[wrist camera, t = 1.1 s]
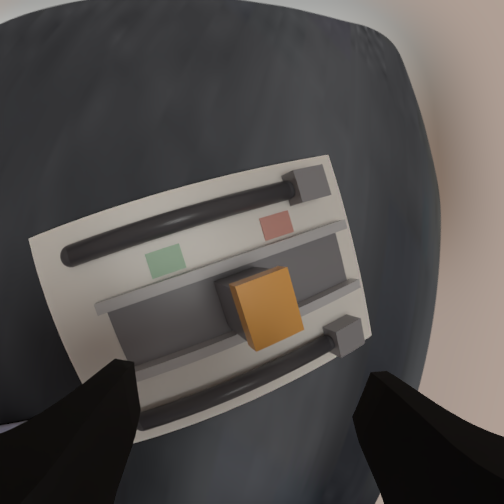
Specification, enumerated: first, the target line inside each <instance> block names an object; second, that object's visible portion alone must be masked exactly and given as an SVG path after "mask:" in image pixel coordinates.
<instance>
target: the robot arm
mask: <svg viewBox="0 0 504 504" xmlns="http://www.w3.org/2000/svg"><path fill="white" fill-rule="evenodd" d="M140 412H141V407H140V401H139V395H138V388H137V381H136V374H135V366H134V362H132V361H126V360H121V359H114V360H112V361H111V362H110V363H108V364H107V365H106V366H105V367H103V368H102V369H101V370H100V371H98V372H97V373H96V374H95V375H93V376H92V377H91V378H89V379H88V380H87V381H86V382H84V383H83V384H82V385H80V386H79V387H78V388H76V389H75V390H74V391H72V392H71V393H70V394H68V395H67V396H66V397H64V398H63V399H61V400H60V401H58V402H57V403H55V404H54V405H52V406H51V407H49V408H48V409H46V410H45V411H43V412H42V413H40V414H38V415H37V416H35V417H33V418H32V419H30V420H27V421H22V422H17V423H11V424H6V425H0V504H114V500H115V496H116V492H117V489H118V486H119V483H120V480H121V477H122V474H123V471H124V468H125V465H126V462H127V459H128V456H129V453H130V451H131V448H132V445H133V442H134V439H135V435H136V431H137V426H138V422H139V417H140ZM353 421H354V425H355V430H356V433H357V437H358V440H359V443H360V446H361V448H362V451H363V453H364V455H365V458H366V460H367V462H368V465H369V467H370V469H371V472H372V474H373V476H374V479H375V481H376V483H377V486H378V488H379V490H380V493H381V496H382V498H383V502H384V504H504V437H502V436H500V435H497V434H494V433H491V432H489V431H486V430H484V429H482V428H480V427H477V426H475V425H473V424H471V423H469V422H467V421H465V420H463V419H461V418H460V417H458V416H456V415H454V414H452V413H451V412H449V411H447V410H446V409H444V408H443V407H441V406H439V405H438V404H436V403H435V402H433V401H432V400H430V399H429V398H427V397H426V396H424V395H423V394H421V393H420V392H418V391H417V390H415V389H414V388H412V387H411V386H409V385H408V384H406V383H405V382H403V381H402V380H400V379H399V378H397V377H396V376H394V375H392V374H391V373H389V372H387V371H382V372H371V373H370V376H369V378H368V381H367V383H366V386H365V388H364V391H363V393H362V396H361V398H360V400H359V403H358V405H357V408H356V410H355V412H354V414H353Z"/></svg>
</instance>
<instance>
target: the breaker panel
mask: <svg viewBox="0 0 504 504" xmlns="http://www.w3.org/2000/svg"><path fill="white" fill-rule="evenodd" d="M29 243H30V247H31V251H32V255H33V259H34V263H35V266H36V270H37V273H38V276H39V280H40V283H41V286H42V289H43V292H44V295H45V298H46V301H47V304H48V307H49V310H50V312H51V315H52V318H53V320H54V323H55V325H56V328H57V330H58V333H59V335H60V338H61V340H62V342H63V345H64V347H65V349H66V351H67V354H68V356H69V358H70V360H71V362H72V364H73V366H74V368H75V371H76V373H77V375H78V377H79V379H80V380H81V382H82V384H83V383H84V382H86V381H87V380H88V379H89V378H91V377H92V376H93V375H95V374H96V373H97V372H98V371H100V370H101V369H102V368H103V367H105V366H106V365H107V364H108V363H110V362H111V361H112V360H114V359H121V360H126V361H132V362H134V366H135V374H136V381H137V388H138V395H139V401H140V407H141V412H140V417H139V422H138V426H137V431H136V435H135V439H134V442H133V443H137V442H140V441H144V440H147V439H150V438H154V437H157V436H160V435H163V434H166V433H169V432H172V431H175V430H178V429H181V428H184V427H187V426H189V425H192V424H195V423H198V422H200V421H203V420H206V419H208V418H211V417H213V416H216V415H218V414H221V413H223V412H226V411H228V410H231V409H233V408H235V407H238V406H240V405H242V404H245V403H247V402H249V401H251V400H253V399H256V398H258V397H260V396H262V395H264V394H266V393H269V392H271V391H273V390H275V389H277V388H279V387H281V386H283V385H285V384H287V383H289V382H291V381H293V380H295V379H297V378H299V377H301V376H303V375H305V374H306V373H308V372H310V371H312V370H314V369H316V368H318V367H319V366H321V365H323V364H325V363H327V362H328V361H330V360H332V359H334V358H335V357H337V356H338V357H340V358H342V357H344V356H345V355H347V354H349V353H350V352H352V351H354V350H355V349H357V348H358V347H360V346H362V345H363V344H365V339H367V338H368V337H370V336H371V329H370V323H369V317H368V311H367V306H366V300H365V295H364V290H363V285H362V280H361V276H360V271H359V266H358V262H357V257H356V253H355V249H354V245H353V240H352V236H351V232H350V228H349V224H348V221H347V217H346V213H345V209H344V206H343V202H342V198H341V195H340V191H339V188H338V185H337V181H336V178H335V175H334V171H333V168H332V165H331V162H330V159H329V155H324V156H318V157H312V158H307V159H301V160H296V161H291V162H286V163H281V164H276V165H271V166H266V167H262V168H257V169H252V170H248V171H243V172H239V173H235V174H231V175H226V176H222V177H218V178H214V179H210V180H206V181H202V182H198V183H195V184H191V185H187V186H183V187H180V188H176V189H173V190H169V191H166V192H162V193H159V194H155V195H152V196H148V197H145V198H142V199H139V200H135V201H132V202H129V203H126V204H123V205H119V206H116V207H113V208H110V209H107V210H104V211H101V212H98V213H95V214H93V215H90V216H87V217H84V218H81V219H78V220H76V221H73V222H70V223H67V224H65V225H62V226H59V227H57V228H54V229H51V230H49V231H46V232H44V233H41V234H39V235H36V236H34V237H31V238H29ZM276 266H284V267H288V271H289V274H290V278H291V282H292V285H293V289H294V293H295V296H296V300H297V304H298V308H299V311H300V315H301V319H302V323H303V326H304V330H302V331H300V332H298V333H296V334H294V335H292V336H290V337H288V338H286V339H284V340H281V341H279V342H277V343H275V344H273V345H270V346H268V347H266V348H264V349H262V350H259V351H257V352H256V351H255V350H253V349H252V348H251V347H250V346H249V345H248V342H247V341H246V340H244V339H243V338H242V337H241V336H240V335H238V334H237V333H236V332H235V331H234V330H232V329H231V328H230V327H229V326H228V323H227V320H226V317H225V314H224V311H223V308H222V305H221V302H220V299H219V296H218V293H217V290H216V287H215V284H214V281H216V280H219V279H222V278H225V277H227V276H230V275H233V274H236V273H239V272H241V271H244V270H247V269H250V268H252V267H262V268H269V269H271V268H274V267H276Z"/></svg>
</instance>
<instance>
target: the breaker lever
mask: <svg viewBox="0 0 504 504" xmlns="http://www.w3.org/2000/svg"><path fill="white" fill-rule="evenodd" d="M214 284H215V287H216V290H217V293H218V296H219V299H220V302H221V305H222V308H223V311H224V314H225V317H226V320H227V323H228V326H229V327H230V328H231V329H232V330H234V331H235V332H236V333H237V334H238V335H240V336H241V337H242V338H243V339H244V340H246V341H247V342H248V345H249V346H250V347H251V348H252V349H253V350H255V351H256V352H257V351H259V350H262V349H264V348H266V347H268V346H270V345H273V344H275V343H277V342H279V341H281V340H284V339H286V338H288V337H290V336H292V335H294V334H296V333H298V332H300V331H302V330H304V326H303V323H302V319H301V315H300V311H299V308H298V304H297V300H296V296H295V293H294V289H293V285H292V282H291V278H290V274H289V271H288V267H284V266H276V267H274V268H271V269H269V268H262V267H252V268H250V269H247V270H244V271H241V272H239V273H236V274H233V275H230V276H227V277H225V278H222V279H219V280H216V281H214Z"/></svg>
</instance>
